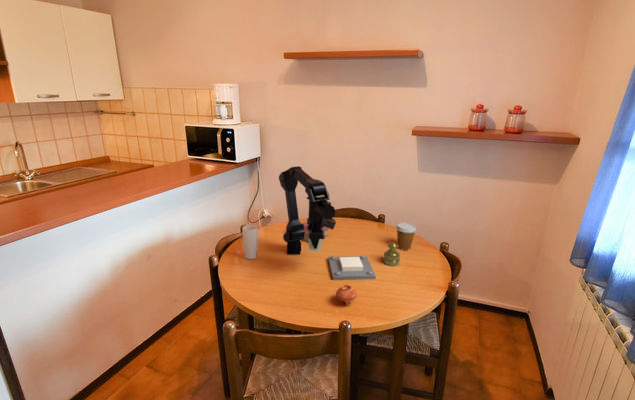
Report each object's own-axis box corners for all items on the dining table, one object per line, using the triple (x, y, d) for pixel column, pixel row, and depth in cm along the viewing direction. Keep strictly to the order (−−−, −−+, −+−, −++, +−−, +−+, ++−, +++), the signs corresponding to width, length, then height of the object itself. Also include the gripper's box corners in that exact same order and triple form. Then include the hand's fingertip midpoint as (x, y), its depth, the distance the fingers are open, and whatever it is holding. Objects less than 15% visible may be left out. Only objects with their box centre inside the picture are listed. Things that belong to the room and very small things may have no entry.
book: (310, 228, 198) (310, 220, 197) (328, 236, 187) (329, 228, 186) (290, 234, 189) (290, 226, 187) (308, 244, 178) (308, 235, 177)
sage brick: (309, 251, 147) (309, 240, 145) (308, 246, 151) (308, 235, 150) (321, 251, 147) (321, 240, 145) (320, 245, 152) (320, 235, 150)
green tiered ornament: (399, 267, 156) (401, 247, 153) (383, 265, 157) (384, 245, 154) (399, 259, 163) (401, 240, 160) (383, 258, 164) (385, 238, 161)
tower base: (333, 280, 144) (333, 272, 143) (328, 259, 161) (328, 252, 160) (375, 278, 146) (376, 271, 145) (366, 258, 163) (366, 252, 162)
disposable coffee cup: (410, 253, 169) (413, 231, 166) (391, 249, 174) (394, 226, 170) (415, 246, 177) (418, 224, 173) (397, 242, 182) (399, 221, 178)
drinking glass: (251, 262, 158) (250, 231, 153) (240, 258, 161) (238, 228, 156) (261, 256, 163) (260, 226, 159) (250, 252, 167) (249, 223, 162)
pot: (360, 306, 127) (357, 291, 125) (339, 311, 127) (336, 296, 125) (356, 293, 135) (353, 278, 132) (336, 297, 134) (333, 283, 132)
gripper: (337, 219, 136) (336, 255, 140) (332, 204, 153) (331, 236, 158) (309, 219, 135) (308, 256, 140) (307, 204, 153) (306, 237, 157)
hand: (314, 245), depth 149 cm, fingers closed on sage brick, 5 cm apart
